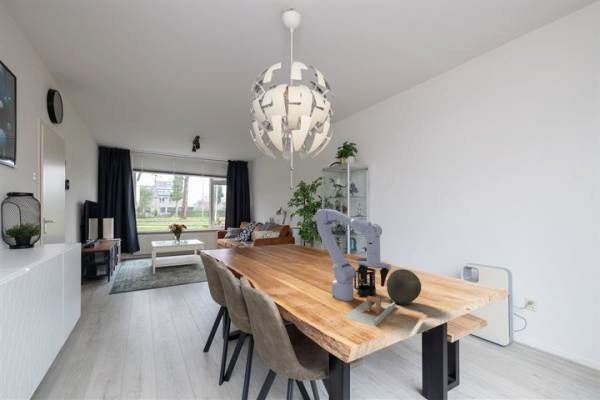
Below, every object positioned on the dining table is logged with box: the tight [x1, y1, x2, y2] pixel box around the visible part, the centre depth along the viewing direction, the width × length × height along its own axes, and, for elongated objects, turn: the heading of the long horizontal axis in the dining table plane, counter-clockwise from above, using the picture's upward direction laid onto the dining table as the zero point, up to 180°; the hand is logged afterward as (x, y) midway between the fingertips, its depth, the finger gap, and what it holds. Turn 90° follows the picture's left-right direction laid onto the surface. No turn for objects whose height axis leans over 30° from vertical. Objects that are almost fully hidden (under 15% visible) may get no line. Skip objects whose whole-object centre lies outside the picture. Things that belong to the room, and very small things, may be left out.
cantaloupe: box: [386, 268, 422, 305], centre depth 120 cm, size 14×14×15 cm
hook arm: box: [369, 295, 382, 307], centre depth 109 cm, size 2×11×6 cm, turn 144°
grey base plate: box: [343, 300, 396, 327], centre depth 108 cm, size 13×22×3 cm, turn 144°
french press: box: [353, 246, 377, 298], centre depth 133 cm, size 12×9×23 cm
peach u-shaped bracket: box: [365, 296, 382, 315], centre depth 108 cm, size 5×2×5 cm, turn 55°
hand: (373, 284), depth 115 cm, fingers open, 7 cm apart
